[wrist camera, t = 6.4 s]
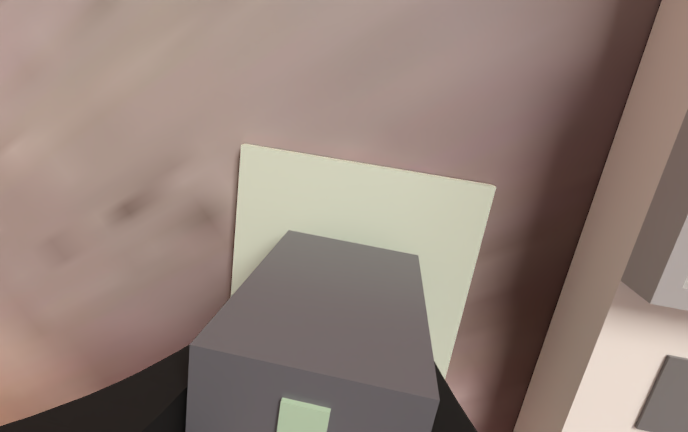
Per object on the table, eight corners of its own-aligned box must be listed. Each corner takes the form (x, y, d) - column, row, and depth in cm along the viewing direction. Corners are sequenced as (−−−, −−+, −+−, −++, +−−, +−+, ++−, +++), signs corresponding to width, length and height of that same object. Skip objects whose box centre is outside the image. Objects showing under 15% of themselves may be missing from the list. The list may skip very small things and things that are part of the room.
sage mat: (426, 435, 15) (427, 444, 15) (227, 392, 16) (223, 399, 15) (492, 184, 12) (496, 187, 12) (245, 143, 13) (240, 144, 12)
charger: (386, 391, 13) (379, 621, 7) (271, 366, 13) (176, 565, 8) (418, 255, 12) (440, 405, 6) (288, 230, 12) (186, 348, 6)
